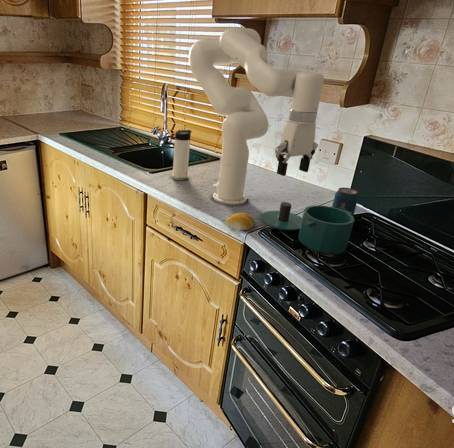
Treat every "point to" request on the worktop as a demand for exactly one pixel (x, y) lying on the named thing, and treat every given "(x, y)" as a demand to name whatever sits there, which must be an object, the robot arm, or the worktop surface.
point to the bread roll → (240, 221)
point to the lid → (282, 218)
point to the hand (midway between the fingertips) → (292, 172)
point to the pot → (326, 229)
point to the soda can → (346, 199)
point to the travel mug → (181, 154)
